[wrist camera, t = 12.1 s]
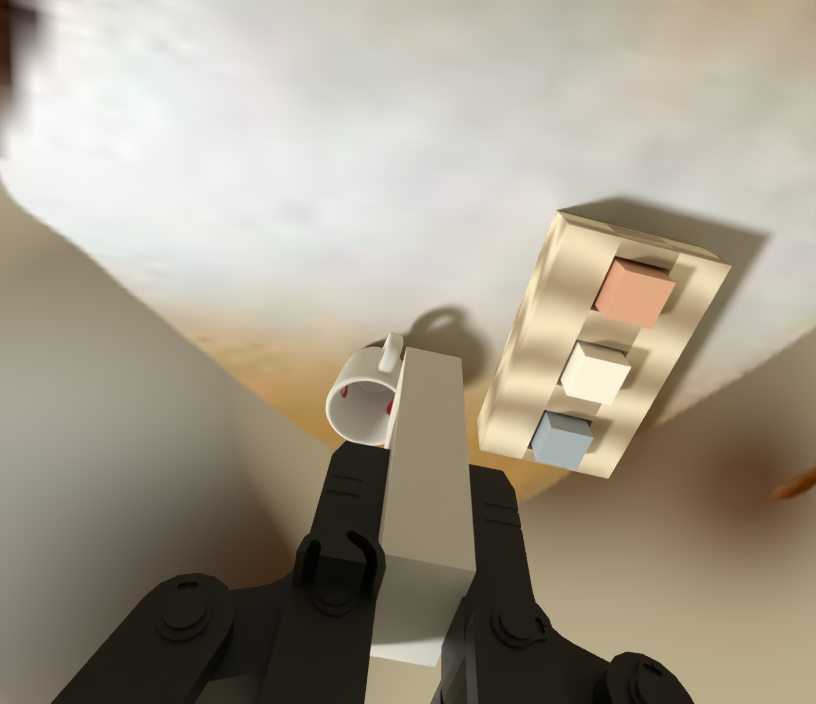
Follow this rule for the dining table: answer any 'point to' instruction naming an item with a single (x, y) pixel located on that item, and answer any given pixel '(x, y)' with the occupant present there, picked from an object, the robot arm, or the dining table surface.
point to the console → (592, 337)
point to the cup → (366, 393)
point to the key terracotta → (633, 292)
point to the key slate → (561, 439)
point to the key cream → (594, 372)
